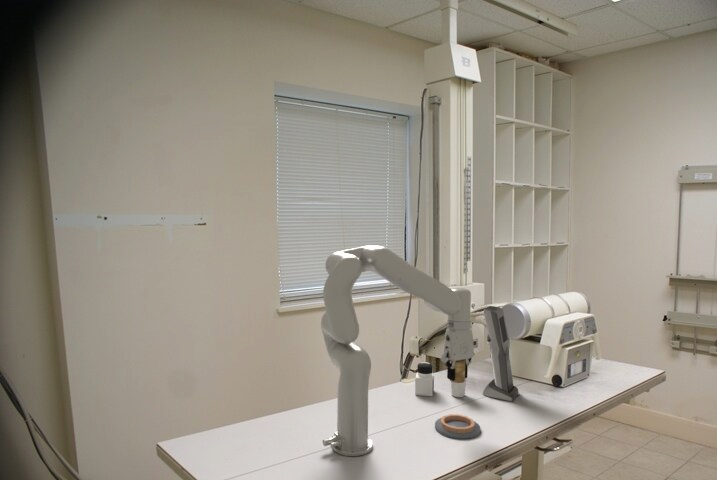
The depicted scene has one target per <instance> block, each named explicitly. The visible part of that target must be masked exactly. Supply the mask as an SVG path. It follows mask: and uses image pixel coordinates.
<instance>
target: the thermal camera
mask: <svg viewBox="0 0 717 480" xmlns="http://www.w3.org/2000/svg"><path fill="white" fill-rule="evenodd" d="M483 316H484V321H485V323H484V324H485V326H486V332H487V336H486V344H488V345H489V346H490V355H491V363H492V370H493V376H494V378H493V379H492V380H491V381H490V382H489V383H488V384H487V385H486V386H485V387H484V389H483V391H482V395H483V396H485V397H488V398H491V399H497V400H502V401H506V402H512V403H513V402H514V400H515V399H516V398H517V396H518V395H519V389H518V387H517V386H515V385H514V379H513V373H512V365H511V358H510V353H509V351H510V347H511V346H510V344H511V343H510V337H509V333H508V328H507V323H506V318H505V313H504V310H503V308H501V307H499V306H493V305H489V306H487V307H486V308H483Z"/></svg>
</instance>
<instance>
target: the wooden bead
mask: <svg viewBox="0 0 717 480" xmlns="http://www.w3.org/2000/svg"><path fill="white" fill-rule="evenodd" d="M451 362H452V361H450V363H451ZM454 369H455V381H452V380H450V379H449V382H450V383H451V382H455V383H463V382H465V360H459V361H455V366H454Z"/></svg>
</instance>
